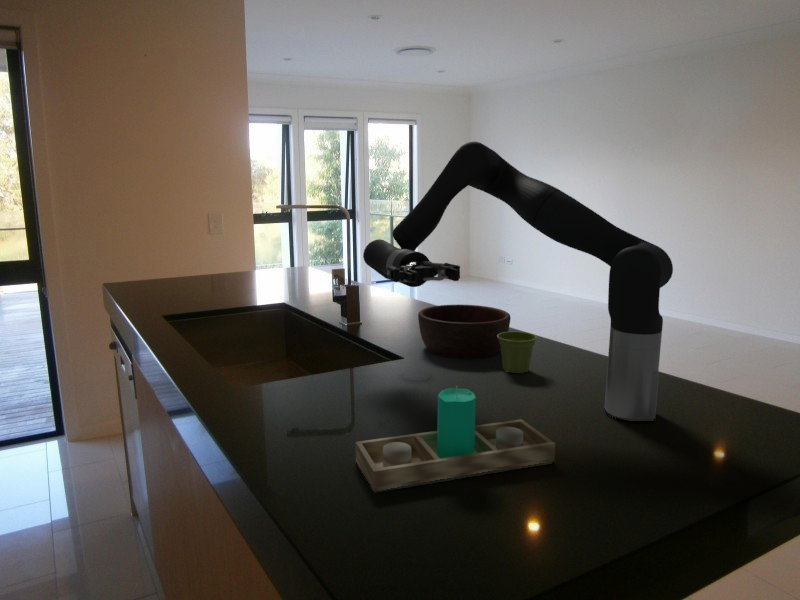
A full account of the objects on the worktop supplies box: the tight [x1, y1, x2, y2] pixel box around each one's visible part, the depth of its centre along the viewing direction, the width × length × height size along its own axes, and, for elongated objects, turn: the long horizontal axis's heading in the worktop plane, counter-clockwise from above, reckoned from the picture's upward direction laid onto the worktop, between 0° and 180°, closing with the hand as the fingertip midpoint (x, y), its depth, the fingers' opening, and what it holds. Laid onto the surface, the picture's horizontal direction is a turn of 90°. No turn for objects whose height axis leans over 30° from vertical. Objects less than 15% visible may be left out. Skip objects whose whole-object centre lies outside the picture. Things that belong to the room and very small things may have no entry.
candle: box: [436, 385, 477, 459], centre depth 94 cm, size 6×6×12 cm
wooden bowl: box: [417, 304, 511, 359], centre depth 161 cm, size 25×25×10 cm
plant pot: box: [497, 331, 538, 374], centre depth 143 cm, size 9×9×9 cm
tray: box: [354, 418, 556, 492], centre depth 95 cm, size 30×11×4 cm, turn 109°
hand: (437, 276), depth 113 cm, fingers open, 8 cm apart
